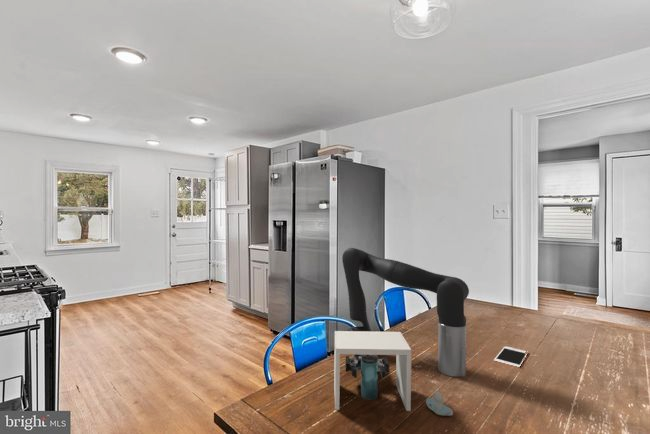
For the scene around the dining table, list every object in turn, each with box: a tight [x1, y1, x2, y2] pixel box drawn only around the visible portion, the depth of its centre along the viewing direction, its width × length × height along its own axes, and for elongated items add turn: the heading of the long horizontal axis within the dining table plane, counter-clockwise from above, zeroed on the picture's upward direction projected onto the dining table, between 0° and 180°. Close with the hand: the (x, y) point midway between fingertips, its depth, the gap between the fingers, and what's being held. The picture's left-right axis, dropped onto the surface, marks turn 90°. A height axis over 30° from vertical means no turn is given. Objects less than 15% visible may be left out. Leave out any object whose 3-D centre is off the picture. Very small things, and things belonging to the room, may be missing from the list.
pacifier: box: [425, 390, 454, 417], centre depth 92 cm, size 7×6×6 cm
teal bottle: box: [360, 355, 379, 401], centre depth 100 cm, size 5×5×12 cm
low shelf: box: [333, 330, 412, 412], centre depth 99 cm, size 14×22×18 cm, turn 90°
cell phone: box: [493, 346, 527, 367], centre depth 128 cm, size 9×18×1 cm, turn 139°
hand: (369, 375), depth 99 cm, fingers open, 8 cm apart
